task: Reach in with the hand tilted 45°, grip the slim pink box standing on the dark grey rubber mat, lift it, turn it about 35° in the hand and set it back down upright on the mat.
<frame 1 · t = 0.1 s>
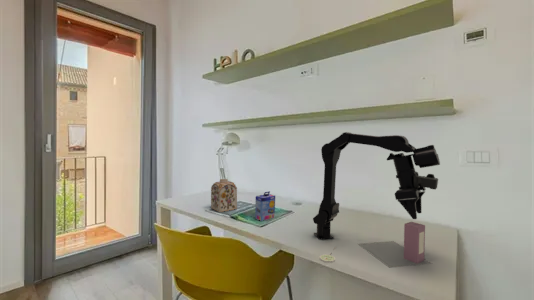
hand: (417, 216, 85), 15 cm above the table, tool pointing down, fingers open, 9 cm apart
pink box: (413, 259, 85), resting on mat
sign: (331, 255, 91), on the table
ink cartridge box: (265, 219, 132), on the table
mat: (391, 253, 91), on the table
decorative jar: (223, 209, 150), on the table
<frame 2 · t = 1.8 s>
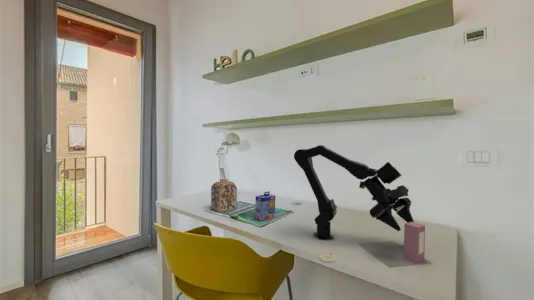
hand: (407, 227, 87), 10 cm above the table, tool tilted 45°, fingers open, 9 cm apart
nothing on the table moved.
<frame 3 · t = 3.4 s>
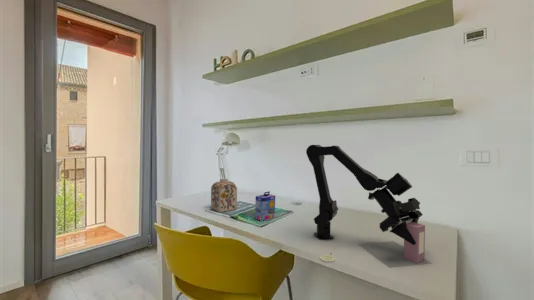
hand: (418, 242, 84), 7 cm above the table, tool tilted 45°, fingers closed on pink box, 4 cm apart
pink box: (413, 259, 85), resting on mat, touching gripper
everything else where it was.
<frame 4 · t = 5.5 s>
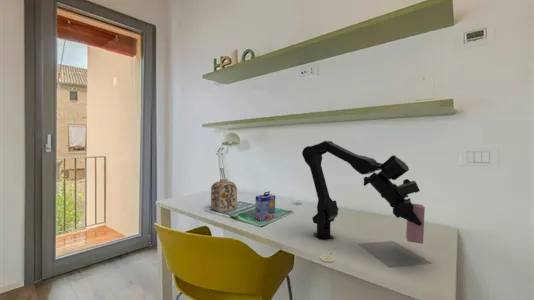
hand: (419, 222, 85), 13 cm above the table, tool tilted 45°, fingers closed on pink box, 4 cm apart
pink box: (414, 240, 86), point 7 cm above the table, touching gripper
everything else where it was.
when the fingers open (8 cm above the table, at t = 7.6 s): pink box drops 1 cm, resting on mat.
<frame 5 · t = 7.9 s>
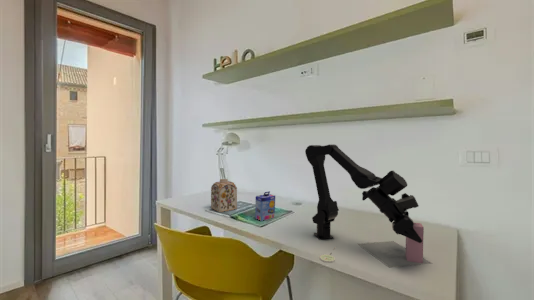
hand: (419, 237, 85), 8 cm above the table, tool tilted 45°, fingers open, 8 cm apart
pink box: (413, 259, 85), resting on mat
everything else where it was.
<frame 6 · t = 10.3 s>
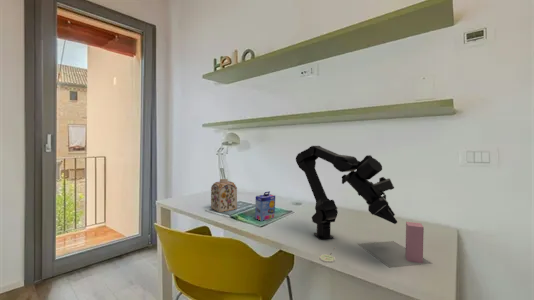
hand: (395, 219, 87), 13 cm above the table, tool tilted 45°, fingers open, 9 cm apart
nothing on the table moved.
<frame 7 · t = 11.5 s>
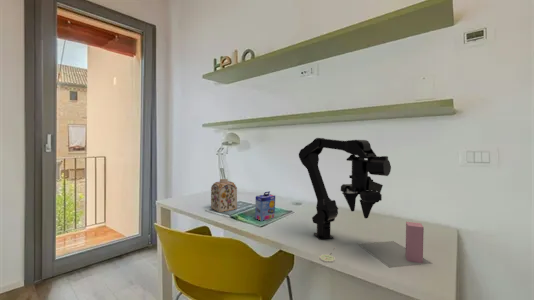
hand: (359, 214, 94), 13 cm above the table, tool pointing down, fingers open, 9 cm apart
nothing on the table moved.
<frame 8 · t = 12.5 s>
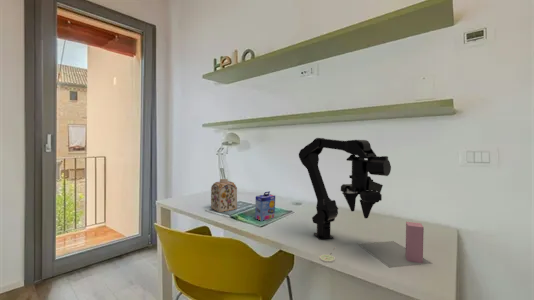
hand: (359, 214, 94), 13 cm above the table, tool pointing down, fingers open, 9 cm apart
nothing on the table moved.
at the end: pink box inside the target area (0.0 cm from its centre), resting on mat; pink box tilted 0°; the gripper is holding nothing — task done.
